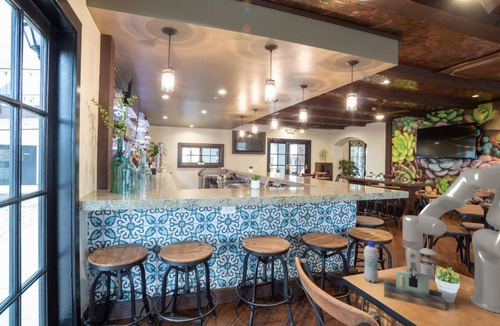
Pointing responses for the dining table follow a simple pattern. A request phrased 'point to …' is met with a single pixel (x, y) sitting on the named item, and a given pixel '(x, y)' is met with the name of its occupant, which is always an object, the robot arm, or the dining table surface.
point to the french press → (428, 263)
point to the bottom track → (414, 296)
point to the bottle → (371, 262)
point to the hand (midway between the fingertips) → (412, 282)
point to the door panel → (403, 282)
